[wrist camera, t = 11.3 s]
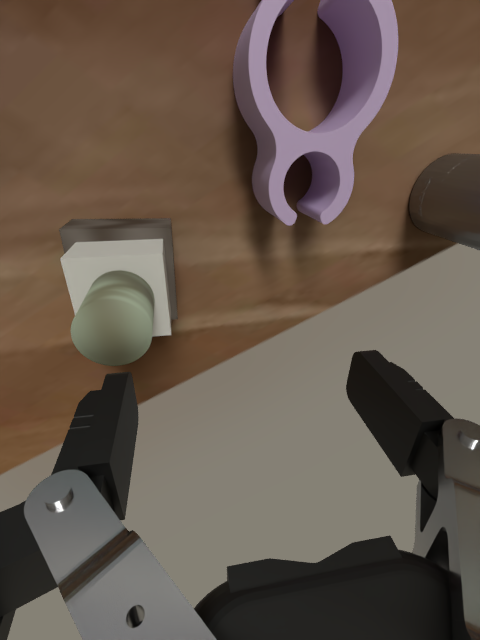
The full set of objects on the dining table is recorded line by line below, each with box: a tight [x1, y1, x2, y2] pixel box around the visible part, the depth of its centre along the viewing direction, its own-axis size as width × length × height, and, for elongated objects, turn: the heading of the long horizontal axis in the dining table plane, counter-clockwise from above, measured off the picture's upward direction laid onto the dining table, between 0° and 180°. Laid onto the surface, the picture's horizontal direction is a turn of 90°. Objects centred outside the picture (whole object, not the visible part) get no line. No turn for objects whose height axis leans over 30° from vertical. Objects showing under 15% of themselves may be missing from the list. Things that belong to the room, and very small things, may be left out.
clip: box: [233, 0, 398, 226], centre depth 30 cm, size 20×12×7 cm, turn 0°
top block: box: [60, 239, 171, 337], centre depth 31 cm, size 8×8×5 cm
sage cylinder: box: [71, 270, 155, 366], centre depth 26 cm, size 6×6×6 cm
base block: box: [59, 218, 178, 319], centre depth 35 cm, size 10×10×5 cm
